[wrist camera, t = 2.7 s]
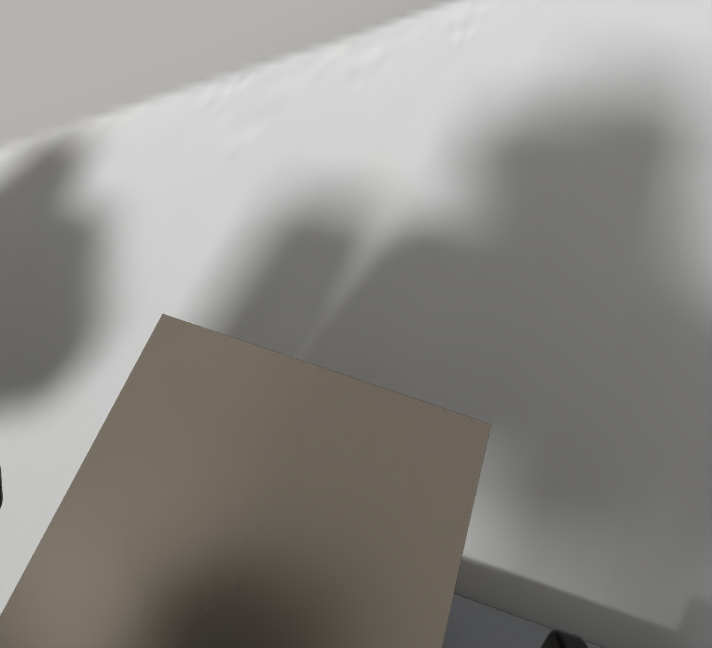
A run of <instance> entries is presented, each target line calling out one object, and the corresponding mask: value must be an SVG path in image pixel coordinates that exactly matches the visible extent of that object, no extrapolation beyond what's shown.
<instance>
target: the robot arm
mask: <svg viewBox="0 0 712 648" xmlns="http://www.w3.org/2000/svg"><path fill="white" fill-rule="evenodd" d="M2 501H3V492H2V478H1V467H0V508H1V505H2ZM540 648H589V647H588V645H587V644H586V643H585V641H584V640H583V639H582V638H581V637H579V636H577V635H575V634H571V633H568V632H565V631H561V630H558V629H554V630H552V631H550V632H549V634H548V635H547V637H546V639H545V640H544V642H543V644H542V645H541V647H540Z"/></svg>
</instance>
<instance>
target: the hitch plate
mask: <svg viewBox="0 0 712 648" xmlns="http://www.w3.org/2000/svg"><path fill="white" fill-rule="evenodd" d="M552 630H553V629H550V628H547V627H545V626H542V625H539V624H536V623H534V622H531V621H528V620H525V619H523V618H520V617H517V616H514V615H512V614H509V613H506V612H503V611H501V610H498V609H495V608H492V607H490V606H487V605H484V604H481V603H479V602H476V601H473V600H470V599H468V598H465V597H462V596H459V595H457V594H453V599H452V603H451V608H450V612H449V617H448V621H447V626H446V630H445V635H444V639H443V644H442V648H540V647H541V645H542V644H543V642H544V640H545V639H546V637H547V635H548V634H549V632H550V631H552ZM585 643H586V644H587V645H588V647H589V648H603V647H600V646H597V645H594V644H592V643H589V642H586V641H585Z"/></svg>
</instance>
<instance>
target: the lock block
mask: <svg viewBox="0 0 712 648" xmlns="http://www.w3.org/2000/svg"><path fill="white" fill-rule="evenodd" d="M490 427H491V424H488V423H485V422H482V421H479V420H476V419H473V418H470V417H467V416H464V415H461V414H458V413H455V412H453V411H450V410H447V409H444V408H441V407H438V406H435V405H432V404H429V403H426V402H423V401H420V400H417V399H414V398H411V397H408V396H405V395H402V394H399V393H396V392H393V391H390V390H387V389H384V388H381V387H378V386H375V385H372V384H369V383H366V382H364V381H361V380H358V379H355V378H352V377H349V376H346V375H343V374H340V373H337V372H334V371H331V370H328V369H325V368H322V367H319V366H316V365H313V364H310V363H307V362H304V361H301V360H298V359H295V358H292V357H289V356H286V355H283V354H280V353H277V352H275V351H272V350H269V349H266V348H263V347H260V346H257V345H254V344H251V343H248V342H245V341H242V340H239V339H236V338H233V337H230V336H227V335H224V334H221V333H218V332H215V331H212V330H209V329H206V328H203V327H200V326H197V325H194V324H191V323H188V322H186V321H183V320H180V319H177V318H174V317H171V316H168V315H165V314H162V316H161V318H160V320H159V322H158V323H157V325H156V327H155V329H154V331H153V333H152V335H151V336H150V338H149V340H148V342H147V344H146V346H145V348H144V349H143V351H142V353H141V355H140V357H139V359H138V361H137V362H136V364H135V366H134V368H133V370H132V372H131V374H130V376H129V377H128V379H127V381H126V383H125V385H124V387H123V389H122V390H121V392H120V394H119V396H118V398H117V400H116V402H115V403H114V405H113V407H112V409H111V411H110V413H109V415H108V416H107V418H106V420H105V422H104V424H103V426H102V428H101V430H100V431H99V433H98V435H97V437H96V439H95V441H94V443H93V444H92V446H91V448H90V450H89V452H88V454H87V456H86V457H85V459H84V461H83V463H82V465H81V467H80V469H79V470H78V472H77V474H76V476H75V478H74V480H73V482H72V484H71V485H70V487H69V489H68V491H67V493H66V495H65V497H64V498H63V500H62V502H61V504H60V506H59V508H58V510H57V511H56V513H55V515H54V517H53V519H52V521H51V523H50V524H49V526H48V528H47V530H46V532H45V534H44V536H43V538H42V539H41V541H40V543H39V545H38V547H37V549H36V551H35V552H34V554H33V556H32V558H31V560H30V562H29V564H28V565H27V567H26V569H25V571H24V573H23V575H22V577H21V579H20V580H19V582H18V584H17V586H16V588H15V590H14V592H13V593H12V595H11V597H10V599H9V601H8V603H7V605H6V606H5V608H4V610H3V612H2V614H1V616H0V648H442V644H443V639H444V635H445V630H446V626H447V621H448V617H449V612H450V608H451V603H452V599H453V594H454V590H455V585H456V581H457V576H458V572H459V567H460V563H461V558H462V553H463V549H464V544H465V540H466V535H467V531H468V526H469V522H470V517H471V513H472V508H473V504H474V499H475V495H476V490H477V486H478V481H479V477H480V472H481V467H482V463H483V458H484V454H485V449H486V445H487V440H488V436H489V431H490Z"/></svg>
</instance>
